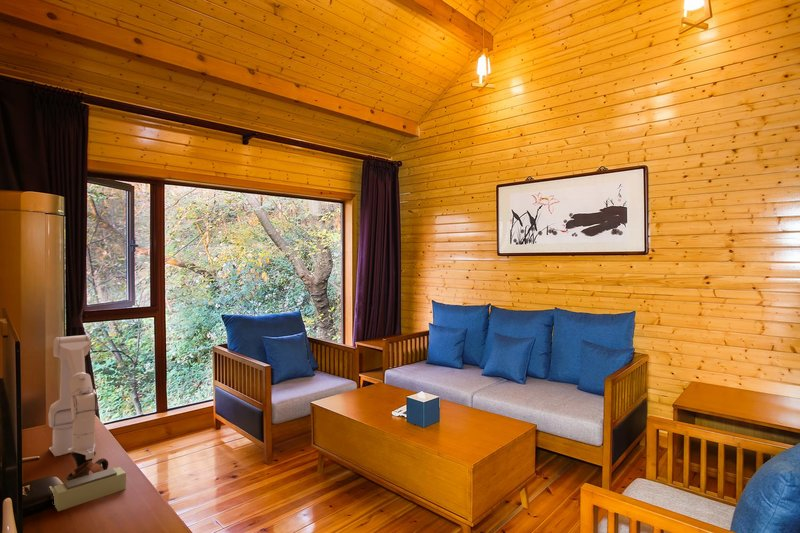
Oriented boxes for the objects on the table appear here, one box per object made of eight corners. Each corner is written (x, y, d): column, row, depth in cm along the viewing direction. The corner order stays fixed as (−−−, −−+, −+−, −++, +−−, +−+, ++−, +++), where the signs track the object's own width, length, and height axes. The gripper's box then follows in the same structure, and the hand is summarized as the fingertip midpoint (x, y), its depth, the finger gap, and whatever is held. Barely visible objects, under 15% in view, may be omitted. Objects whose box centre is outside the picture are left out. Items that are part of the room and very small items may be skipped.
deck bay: (48, 496, 130) (49, 477, 130) (114, 476, 143) (114, 459, 142) (58, 511, 123) (58, 491, 123) (125, 489, 135) (125, 470, 135)
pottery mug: (97, 495, 132) (80, 474, 130) (72, 506, 134) (55, 485, 132) (122, 467, 144) (107, 447, 142) (99, 477, 145) (84, 457, 143)
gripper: (62, 429, 142) (62, 471, 142) (74, 442, 133) (74, 487, 133) (88, 423, 147) (88, 464, 148) (102, 435, 138) (101, 479, 138)
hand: (83, 474), depth 141 cm, fingers closed
